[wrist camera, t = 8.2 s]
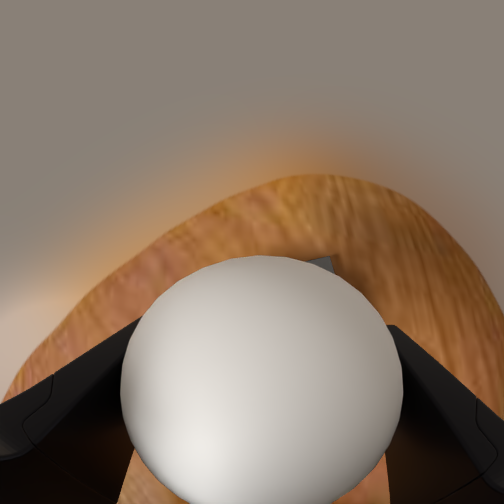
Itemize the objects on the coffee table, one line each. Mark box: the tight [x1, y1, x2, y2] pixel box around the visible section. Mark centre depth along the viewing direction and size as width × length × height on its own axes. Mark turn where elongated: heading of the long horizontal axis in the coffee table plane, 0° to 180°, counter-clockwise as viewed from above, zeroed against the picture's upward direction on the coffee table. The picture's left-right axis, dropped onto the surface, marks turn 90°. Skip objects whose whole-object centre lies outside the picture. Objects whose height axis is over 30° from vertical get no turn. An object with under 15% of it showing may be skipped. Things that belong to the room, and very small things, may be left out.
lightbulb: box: [120, 255, 403, 504], centre depth 8 cm, size 6×6×11 cm
